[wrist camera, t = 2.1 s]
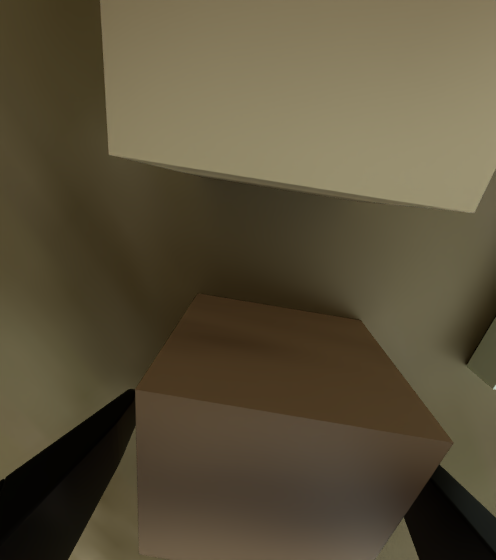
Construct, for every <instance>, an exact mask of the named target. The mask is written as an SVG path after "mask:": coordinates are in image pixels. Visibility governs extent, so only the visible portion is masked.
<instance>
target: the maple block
mask: <svg viewBox="0 0 496 560" xmlns="http://www.w3.org/2000/svg"><path fill="white" fill-rule="evenodd" d="M100 8H101V25H102V43H103V61H104V79H105V97H106V114H107V132H108V150H109V155H111V156H116V157H120V158H124V159H128V160H132V161H137V162H141V163H145V164H149V165H154V166H158V167H162V168H166V169H170V170H175V171H179V172H183V173H187V174H191V175H196V176H200V177H206V178H212V179H219V180H225V181H231V182H237V183H244V184H250V185H256V186H263V187H269V188H275V189H281V190H288V191H294V192H300V193H306V194H313V195H319V196H325V197H331V198H338V199H344V200H351V201H360V202H370V203H380V204H390V205H399V206H409V207H419V208H428V209H438V210H448V211H458V212H467V213H475V210H476V208H477V206H478V204H479V202H480V200H481V198H482V196H483V194H484V192H485V190H486V187H487V185H488V183H489V181H490V179H491V177H492V175H493V173H494V171H495V169H496V0H100Z"/></svg>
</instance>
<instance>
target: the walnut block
mask: <svg viewBox="0 0 496 560" xmlns="http://www.w3.org/2000/svg"><path fill="white" fill-rule="evenodd" d="M135 407H136V449H137V491H138V533H139V554H140V555H146V556H152V557H158V558H164V559H169V560H375V559H376V557H377V556H378V554H379V553H380V551H381V550H382V548H383V547H384V545H385V544H386V542H387V541H388V539H389V538H390V536H391V535H392V533H393V532H394V530H395V529H396V528H397V526H398V525H399V523H400V522H401V520H402V519H403V517H404V516H405V514H406V513H407V511H408V510H409V508H410V507H411V505H412V504H413V502H414V501H415V499H416V498H417V496H418V495H419V494H420V492H421V491H422V489H423V488H424V486H425V485H426V483H427V482H428V480H429V479H430V477H431V476H432V474H433V473H434V471H435V470H436V468H437V467H438V465H439V464H440V462H441V461H442V460H443V458H444V457H445V455H446V454H447V452H448V451H449V449H450V448H451V446H452V445H453V441H452V440H451V439H450V437H449V436H448V435H447V433H446V432H445V431H444V430H443V428H442V427H441V426H440V424H439V423H438V422H437V420H436V419H435V418H434V416H433V415H432V414H431V412H430V411H429V410H428V408H427V407H426V406H425V404H424V403H423V402H422V401H421V399H420V398H419V397H418V395H417V394H416V393H415V391H414V390H413V389H412V387H411V386H410V385H409V383H408V382H407V381H406V379H405V378H404V377H403V375H402V374H401V373H400V372H399V370H398V369H397V368H396V366H395V365H394V364H393V362H392V361H391V360H390V358H389V357H388V356H387V354H386V353H385V352H384V350H383V349H382V348H381V346H380V345H379V344H378V343H377V341H376V340H375V339H374V337H373V336H372V335H371V333H370V332H369V331H368V329H367V328H366V327H365V325H364V324H363V323H362V321H361V320H356V319H350V318H344V317H338V316H332V315H325V314H319V313H313V312H307V311H301V310H295V309H289V308H283V307H277V306H271V305H265V304H259V303H253V302H247V301H241V300H235V299H229V298H223V297H217V296H211V295H205V294H199V293H198V294H197V295H196V297H195V298H194V300H193V301H192V303H191V304H190V306H189V308H188V309H187V311H186V312H185V314H184V315H183V317H182V318H181V320H180V321H179V323H178V324H177V326H176V327H175V329H174V331H173V332H172V334H171V335H170V337H169V338H168V340H167V341H166V343H165V344H164V346H163V347H162V349H161V351H160V352H159V354H158V355H157V357H156V358H155V360H154V361H153V363H152V364H151V366H150V367H149V369H148V370H147V372H146V374H145V375H144V377H143V378H142V380H141V381H140V383H139V384H138V386H137V387H136V389H135Z"/></svg>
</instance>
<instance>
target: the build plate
mask: <svg viewBox="0 0 496 560" xmlns="http://www.w3.org/2000/svg"><path fill="white" fill-rule="evenodd" d="M467 367H468V368H469V369H470V370H471V371H472V372H474V373H475V374H476V375H477V376H478V377H479V378H481V379H482V380H483V381H484V382H485V383H486V384H488V385H489V386H490V387H491V388H492V389H496V318H495V319H494V321H493V322H492V324H491V326H490V327H489V329H488V331H487V332H486V334H485V336H484V337H483V339H482V341H481V342H480V344H479V346H478V347H477V349H476V351H475V352H474V354H473V356H472V357H471V359H470V361H469V362H468V364H467Z"/></svg>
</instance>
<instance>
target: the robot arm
mask: <svg viewBox="0 0 496 560" xmlns="http://www.w3.org/2000/svg"><path fill="white" fill-rule="evenodd" d="M135 426H136V407H135V389H129V390H127V391H125V392H124V393H123V394H121V395H120V396H118V397H117V398H116V399H114V400H113V401H111V402H110V403H109V404H107V405H106V406H104V407H103V408H102V409H100V410H99V411H97V412H96V413H95V414H93V415H92V416H90V417H89V418H88V419H86V420H85V421H83V422H82V423H81V424H79V425H78V426H76V427H75V428H74V429H72V430H71V431H69V432H68V433H67V434H65V435H64V436H62V437H61V438H60V439H58V440H57V441H55V442H54V443H53V444H51V445H50V446H48V447H47V448H46V449H44V450H43V451H41V452H40V453H39V454H37V455H36V456H34V457H33V458H32V459H30V460H29V461H27V462H26V463H25V464H23V465H22V466H20V467H19V468H18V469H16V470H15V471H13V472H12V473H11V474H9V475H8V476H7V477H6V478H5V479H2V480H1V481H0V560H68V559H69V557H70V555H71V553H72V551H73V549H74V547H75V546H76V544H77V542H78V540H79V538H80V536H81V534H82V533H83V531H84V529H85V527H86V525H87V523H88V521H89V519H90V518H91V516H92V514H93V512H94V510H95V508H96V506H97V504H98V503H99V501H100V499H101V497H102V495H103V493H104V491H105V490H106V488H107V486H108V484H109V482H110V480H111V478H112V476H113V475H114V473H115V471H116V469H117V467H118V465H119V463H120V461H121V458H122V456H123V454H124V452H125V449H126V447H127V445H128V442H129V440H130V437H131V435H132V433H133V430H134V428H135ZM404 519H405V522H406V524H407V527H408V530H409V533H410V535H411V538H412V541H413V544H414V546H415V549H416V552H417V555H418V557H419V560H496V517H494V516H493V515H492V514H491V513H490V512H489V511H488V510H487V509H486V508H485V507H484V506H483V505H482V504H481V503H480V502H479V501H478V500H476V499H475V498H474V497H473V496H472V495H471V494H470V493H469V492H468V491H467V490H466V489H465V488H464V487H463V486H462V485H461V484H459V483H458V482H457V481H456V480H455V479H454V478H453V477H452V476H451V475H450V474H449V473H448V472H447V471H446V470H445V469H444V468H442V467H441V466H440V465H438V467H437V468H436V470H435V471H434V473H433V474H432V476H431V477H430V479H429V480H428V482H427V483H426V485H425V486H424V488H423V489H422V491H421V492H420V494H419V495H418V496H417V498H416V499H415V501H414V502H413V504H412V505H411V507H410V508H409V510H408V511H407V513H406V514H405V516H404Z"/></svg>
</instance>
